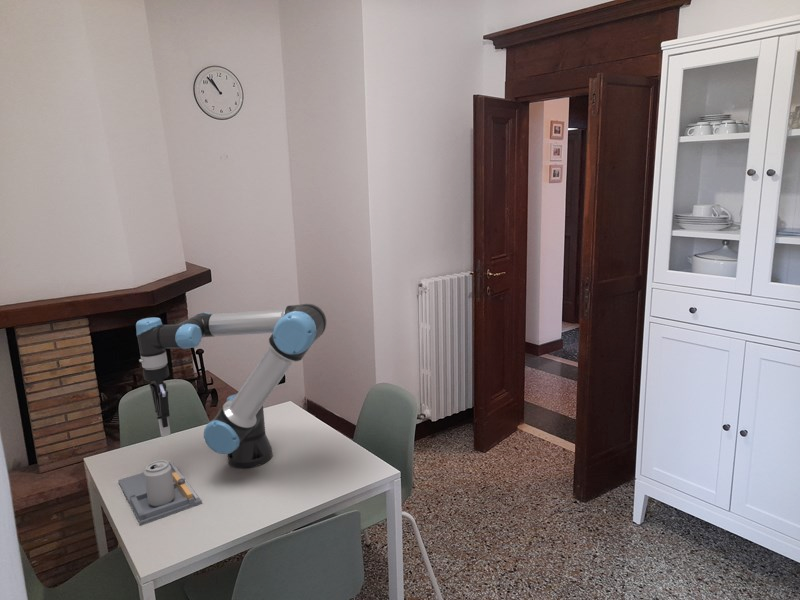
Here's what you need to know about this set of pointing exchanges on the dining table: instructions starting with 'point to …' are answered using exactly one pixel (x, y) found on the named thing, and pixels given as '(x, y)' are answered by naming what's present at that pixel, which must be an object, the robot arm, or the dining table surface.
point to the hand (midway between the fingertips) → (165, 435)
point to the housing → (139, 501)
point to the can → (159, 483)
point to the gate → (182, 486)
